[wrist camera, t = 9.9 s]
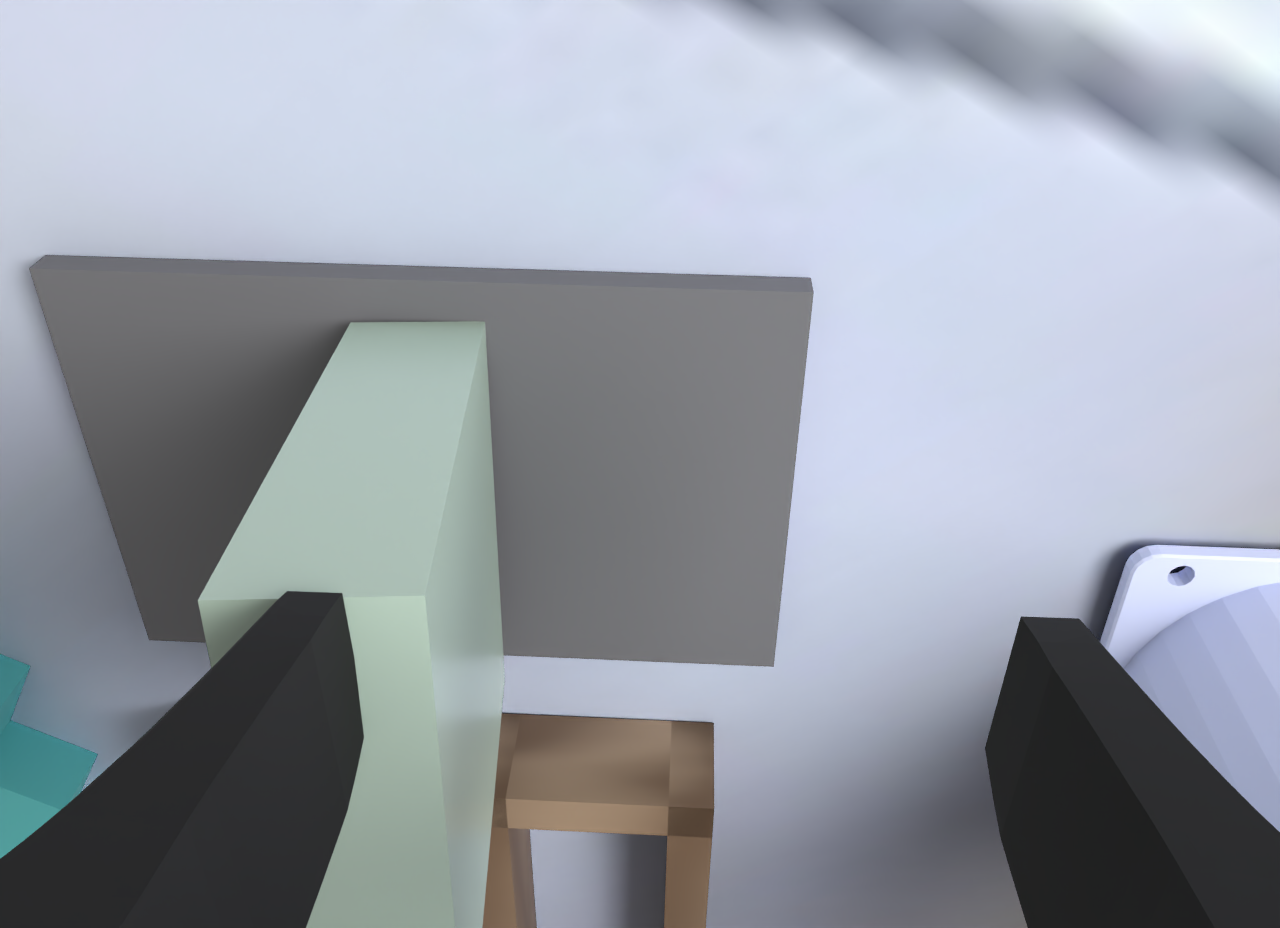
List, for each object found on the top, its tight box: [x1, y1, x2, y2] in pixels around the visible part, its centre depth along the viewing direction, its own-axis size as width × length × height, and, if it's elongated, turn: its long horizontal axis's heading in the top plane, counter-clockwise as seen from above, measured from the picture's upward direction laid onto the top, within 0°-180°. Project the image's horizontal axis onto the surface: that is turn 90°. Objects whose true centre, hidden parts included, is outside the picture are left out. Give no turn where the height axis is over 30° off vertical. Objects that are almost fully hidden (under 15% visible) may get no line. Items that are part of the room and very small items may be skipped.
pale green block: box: [198, 321, 505, 928], centre depth 18 cm, size 2×8×9 cm, turn 179°
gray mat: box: [29, 255, 813, 667], centre depth 22 cm, size 14×9×1 cm, turn 89°
